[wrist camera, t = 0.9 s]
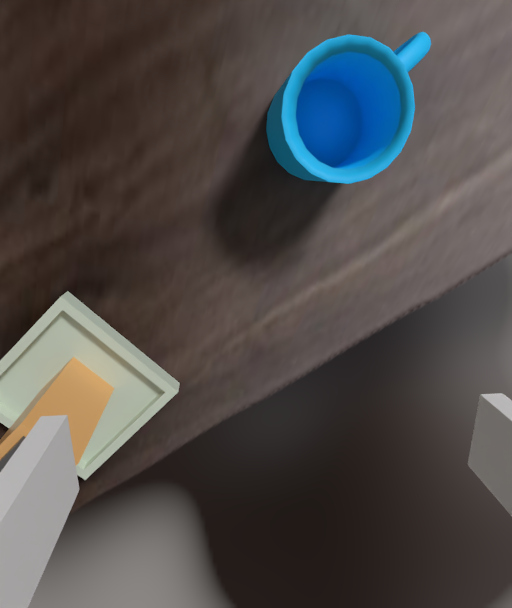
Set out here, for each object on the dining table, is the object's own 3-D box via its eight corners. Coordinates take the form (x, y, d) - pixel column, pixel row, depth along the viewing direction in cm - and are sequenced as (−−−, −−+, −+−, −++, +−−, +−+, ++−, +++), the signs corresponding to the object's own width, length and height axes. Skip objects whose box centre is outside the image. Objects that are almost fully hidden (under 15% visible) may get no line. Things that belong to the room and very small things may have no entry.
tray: (-25, 389, 36) (-36, 398, 35) (67, 291, 35) (60, 296, 33) (90, 468, 40) (85, 480, 38) (179, 383, 38) (178, 391, 37)
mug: (308, 202, 34) (335, 211, 26) (244, 119, 32) (253, 102, 24) (426, 101, 33) (492, 79, 25) (368, 6, 30) (420, -52, 23)
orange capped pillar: (40, 390, 36) (-30, 476, 26) (73, 356, 36) (15, 430, 25) (81, 420, 38) (30, 513, 27) (114, 388, 37) (74, 471, 27)
